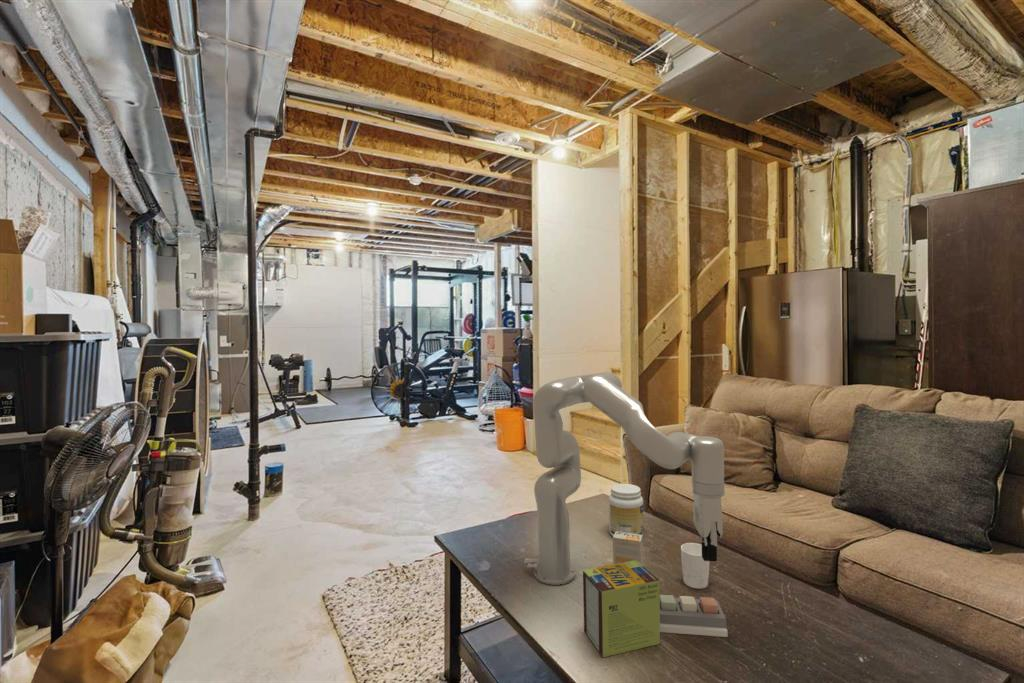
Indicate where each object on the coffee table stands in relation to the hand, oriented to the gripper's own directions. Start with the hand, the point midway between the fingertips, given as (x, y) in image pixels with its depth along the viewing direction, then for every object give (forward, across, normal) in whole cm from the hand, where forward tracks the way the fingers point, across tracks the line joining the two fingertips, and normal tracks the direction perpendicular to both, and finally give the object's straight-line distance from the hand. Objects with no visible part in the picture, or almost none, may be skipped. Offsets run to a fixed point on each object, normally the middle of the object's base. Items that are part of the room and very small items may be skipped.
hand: (709, 559), depth 118 cm
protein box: (+16, +8, -23) cm, 29 cm away
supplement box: (+16, -19, -18) cm, 31 cm away
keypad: (+16, 0, -5) cm, 17 cm away
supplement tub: (+16, -49, -16) cm, 54 cm away
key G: (+13, 0, 0) cm, 13 cm away
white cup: (+17, -19, +1) cm, 25 cm away
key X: (+13, 0, -5) cm, 14 cm away
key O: (+13, 0, -10) cm, 17 cm away
